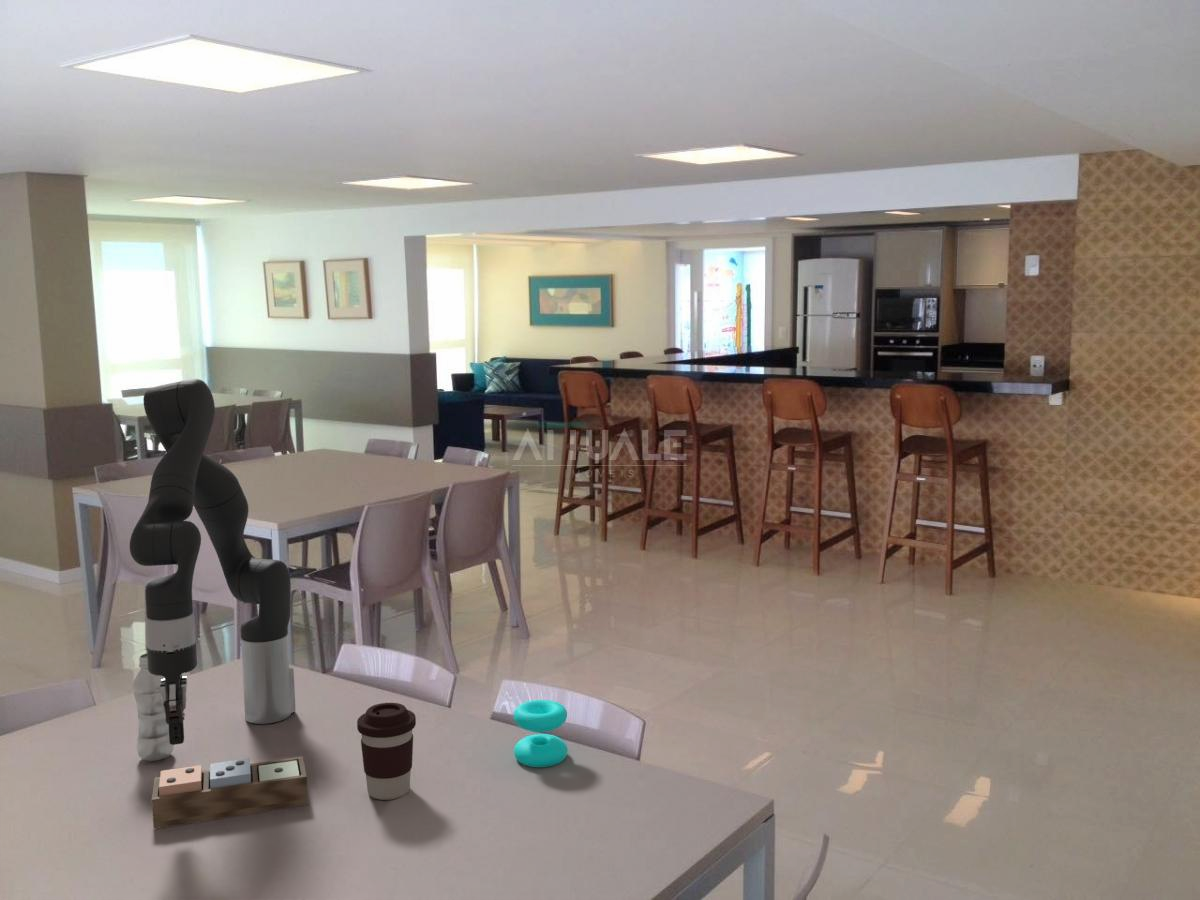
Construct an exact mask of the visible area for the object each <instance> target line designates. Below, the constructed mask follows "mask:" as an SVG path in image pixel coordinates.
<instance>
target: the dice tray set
mask: <svg viewBox="0 0 1200 900" xmlns="http://www.w3.org/2000/svg"><path fill="white" fill-rule="evenodd" d="M295 760H297V765H298V770H299V776H293V777H287V778H280V779H273V780H267V781H260V782H259V766H261V765H268V764H275V763H281V762H288V761H295ZM250 772H251V783H247V784H240V785H233V786H227V787H220V788H213V789H210V769H206V770H202V790H200V791H193V792H187V793H180V794H173V795H167V796H160V797H159V782H160V776H158V777H157V776H156V777H154V782H153V787H152V795H151V809H152V821H153V823H152V825H153V829H154V828H156V829H160V828H159V827H163V828H167V826H169V827H174V825H175V826H180V825H187V824H193V823H199V822H205V821H211V820H218V819H225V818H230V817H231V818H232V817H237V816H244V815H249V814H255V813H264V812H269V811H274V810H280V809H288V808H292V807H300V806H301V807H302V806H307V805H309V802H308V782H307V781H308V778H307V776H308V775H307V772H306V766H305V762H304V756H303V755H302V756H296V757H289V758H281V759H275V760H268V761H261V762H253V763H250Z"/></svg>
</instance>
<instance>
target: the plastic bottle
mask: <svg viewBox="0 0 1200 900" xmlns="http://www.w3.org/2000/svg"><path fill="white" fill-rule="evenodd" d="M138 658H139V659H138V660H139V663H138V667H139V668H140V669H139V672H138V673H137V674H136V676H135V678H134V679H133V683H132V691H133V695H134V699H135V703H136V708H137V710H136V711H137V718H138V730H137V731H138V733H137V734H138V735H137V741H136V743H137V744H136V752H137V753H138V756H139V757H140V758H141V760H142V761H144V762H157V761H161V760H164V759H167V758H168V757H170V756H171V755H172V753H173V752H174V749H175V748H174V746H175V745H171V744H170V742H169V724H167V722H166V715H165V711H164V710H163V697H162V696H161V692H160V684H161V679H165V677H164V676H160V675H159V676H156V675H153V674H151V673H150V672H149V671H148V660H147V652H146V653H143V654H141V655H140V656H138Z"/></svg>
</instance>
